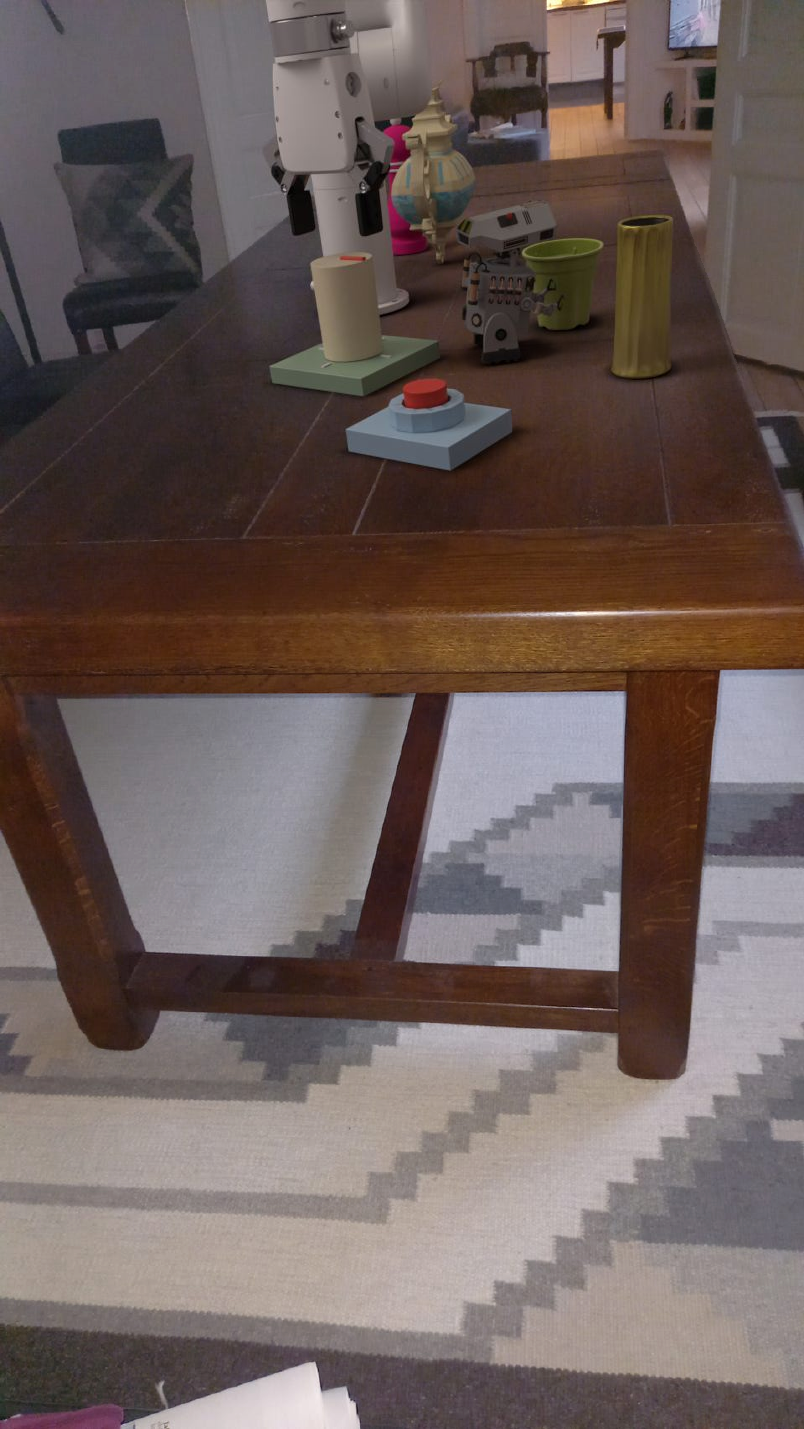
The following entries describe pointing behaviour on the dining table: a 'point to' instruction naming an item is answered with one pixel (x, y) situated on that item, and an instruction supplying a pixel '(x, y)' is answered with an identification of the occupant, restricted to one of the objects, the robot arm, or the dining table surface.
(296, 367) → the swivel stand
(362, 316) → the cream cylinder red stripe
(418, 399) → the button
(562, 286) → the plant pot
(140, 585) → the dining table surface
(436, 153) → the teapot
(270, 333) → the dining table surface
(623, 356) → the vase
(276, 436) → the dining table surface
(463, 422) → the button box
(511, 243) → the figurine
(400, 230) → the pepper mill
